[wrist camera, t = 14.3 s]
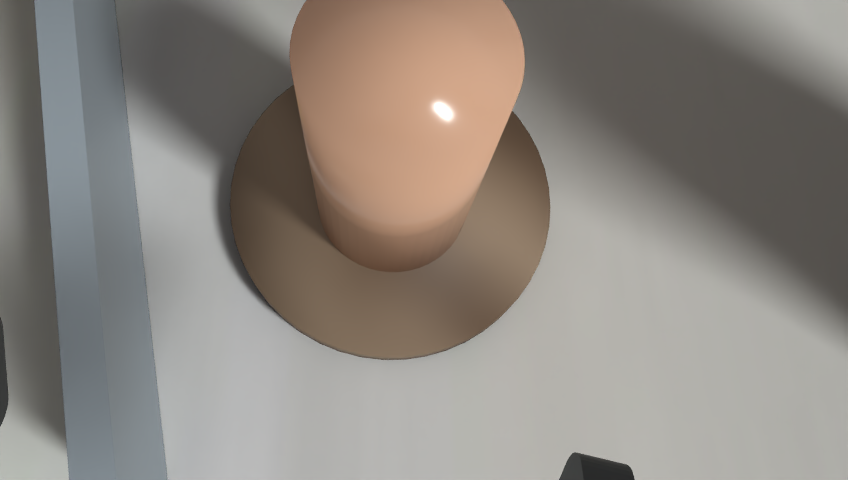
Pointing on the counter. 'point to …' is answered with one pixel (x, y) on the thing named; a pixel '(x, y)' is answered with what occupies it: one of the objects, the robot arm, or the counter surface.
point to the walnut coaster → (376, 290)
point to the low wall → (97, 248)
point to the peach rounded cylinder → (402, 118)
